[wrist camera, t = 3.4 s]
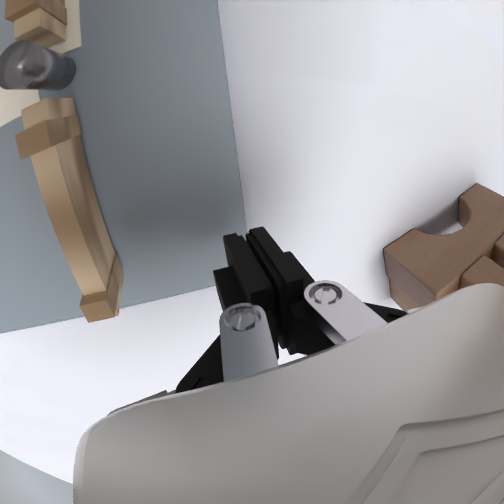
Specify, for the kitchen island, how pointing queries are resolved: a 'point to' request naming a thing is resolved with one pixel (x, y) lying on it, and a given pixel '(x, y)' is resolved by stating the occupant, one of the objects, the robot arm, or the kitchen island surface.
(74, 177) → the tan wooden bar
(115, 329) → the kitchen island surface
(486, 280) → the wooden toy
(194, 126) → the board
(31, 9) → the fixed fence rail
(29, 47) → the fence post
